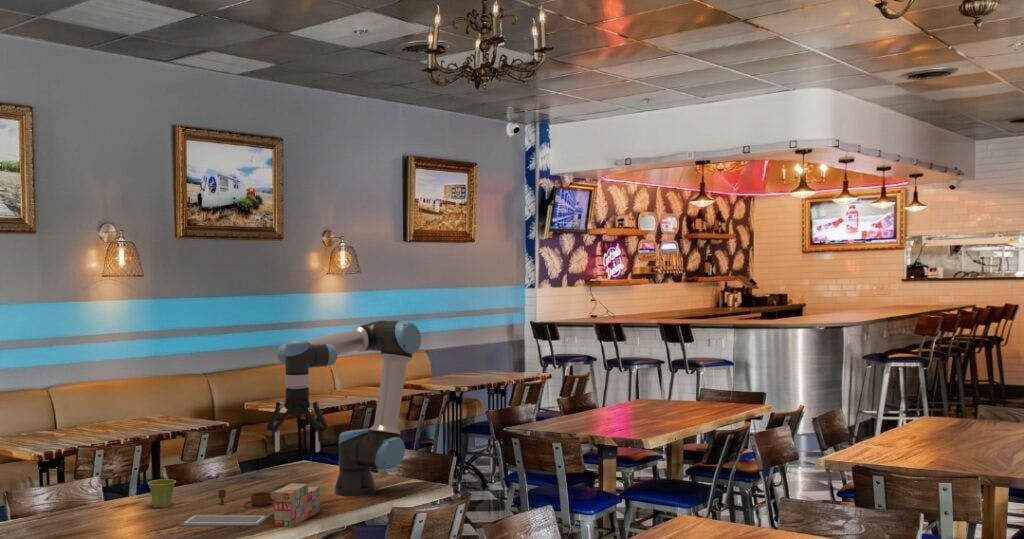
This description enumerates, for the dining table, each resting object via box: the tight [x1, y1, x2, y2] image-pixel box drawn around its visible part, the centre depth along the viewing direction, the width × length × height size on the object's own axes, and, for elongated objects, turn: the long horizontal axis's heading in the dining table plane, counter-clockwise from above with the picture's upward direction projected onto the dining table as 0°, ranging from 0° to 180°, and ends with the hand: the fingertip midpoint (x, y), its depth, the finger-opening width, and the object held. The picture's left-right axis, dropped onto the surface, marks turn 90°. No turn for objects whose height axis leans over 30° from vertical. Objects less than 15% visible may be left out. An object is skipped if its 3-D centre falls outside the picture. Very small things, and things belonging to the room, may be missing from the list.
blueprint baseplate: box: [178, 514, 271, 528], centre depth 322 cm, size 26×13×1 cm, turn 86°
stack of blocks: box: [273, 482, 321, 528], centre depth 323 cm, size 21×6×12 cm, turn 166°
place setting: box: [218, 489, 274, 510], centre depth 347 cm, size 18×20×6 cm
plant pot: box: [147, 478, 177, 509], centre depth 346 cm, size 9×9×9 cm
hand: (297, 451), depth 323 cm, fingers open, 13 cm apart
